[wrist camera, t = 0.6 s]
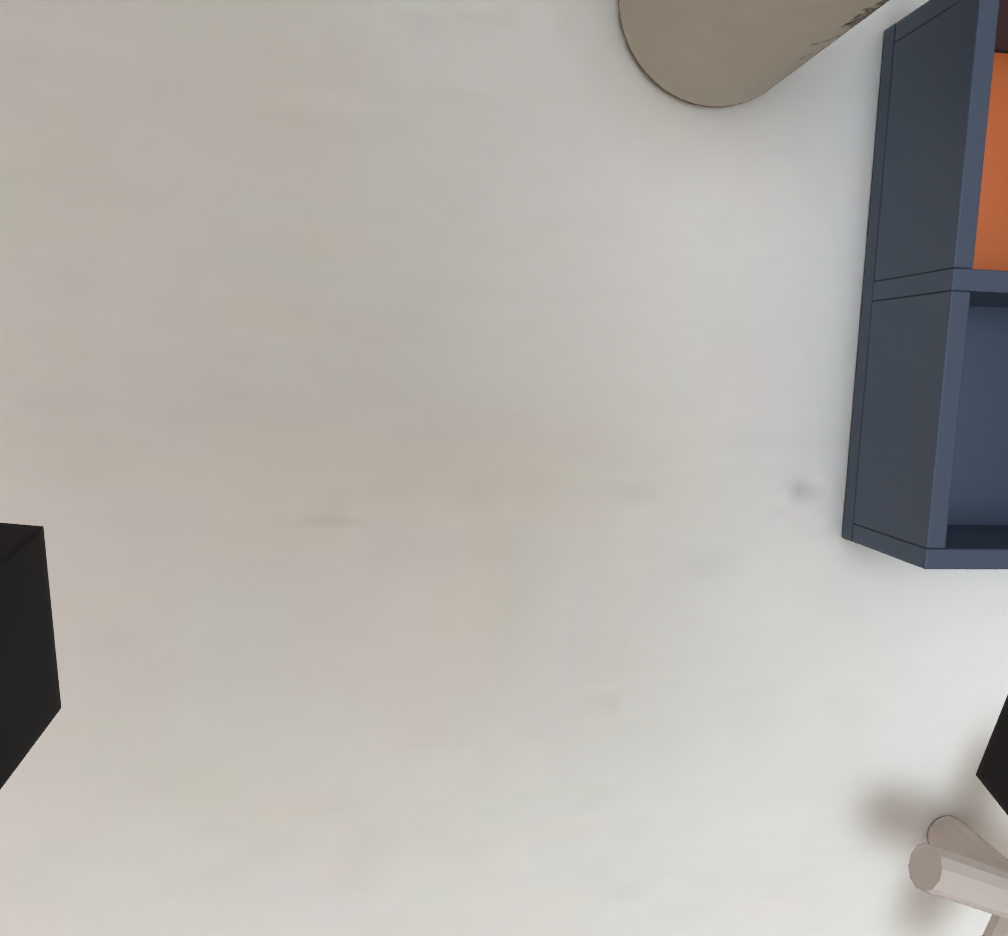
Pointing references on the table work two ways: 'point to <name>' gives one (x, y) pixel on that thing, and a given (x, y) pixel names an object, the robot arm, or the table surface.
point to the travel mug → (732, 42)
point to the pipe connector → (963, 871)
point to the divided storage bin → (936, 298)
